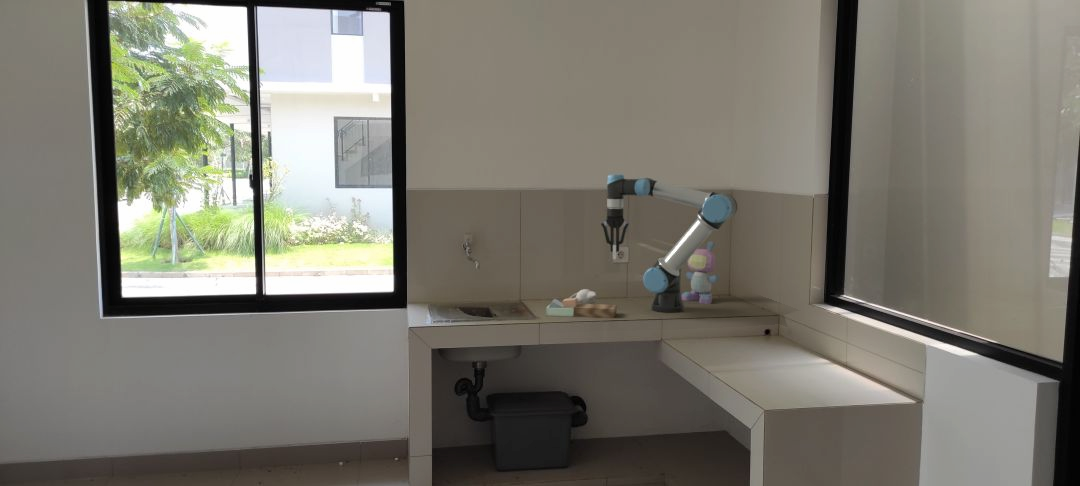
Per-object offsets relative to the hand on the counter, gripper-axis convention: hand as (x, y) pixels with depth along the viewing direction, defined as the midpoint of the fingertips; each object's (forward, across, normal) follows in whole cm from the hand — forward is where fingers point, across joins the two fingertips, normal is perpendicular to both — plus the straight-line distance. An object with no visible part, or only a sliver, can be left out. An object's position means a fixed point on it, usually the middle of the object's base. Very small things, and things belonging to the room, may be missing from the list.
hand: (614, 258), depth 364 cm
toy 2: (+25, -38, -35) cm, 57 cm away
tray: (+24, +22, +12) cm, 35 cm away
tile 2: (+21, +18, +12) cm, 30 cm away
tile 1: (+20, +24, +12) cm, 33 cm away
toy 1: (+25, +16, -6) cm, 30 cm away
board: (+24, +7, +12) cm, 28 cm away
